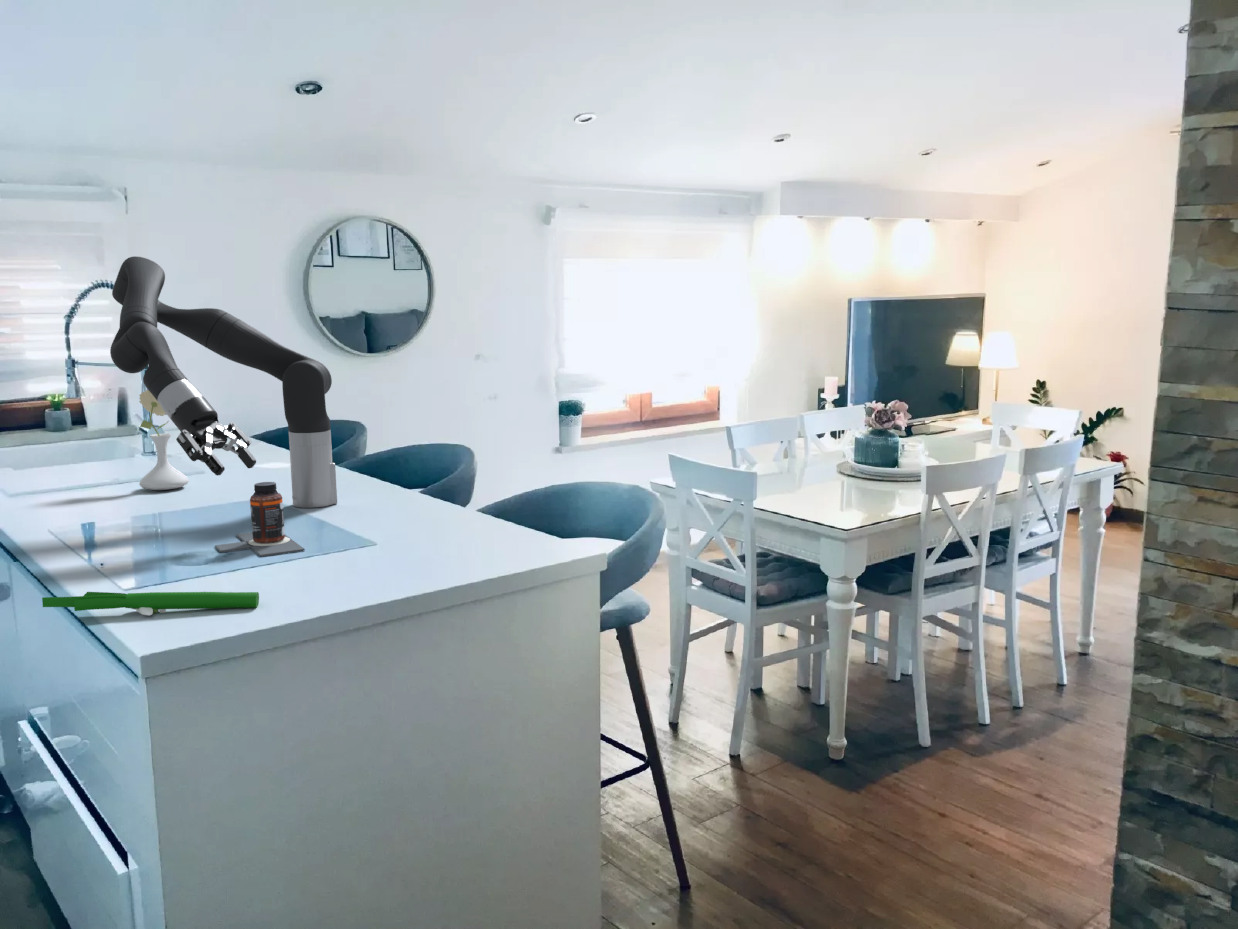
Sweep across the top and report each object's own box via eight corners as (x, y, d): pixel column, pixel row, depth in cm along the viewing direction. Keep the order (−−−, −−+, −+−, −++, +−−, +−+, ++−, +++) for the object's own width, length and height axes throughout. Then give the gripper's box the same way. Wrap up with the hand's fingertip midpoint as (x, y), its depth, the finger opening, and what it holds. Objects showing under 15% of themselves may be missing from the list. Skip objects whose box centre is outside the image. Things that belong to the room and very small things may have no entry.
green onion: (259, 608, 154) (49, 610, 148) (259, 588, 153) (48, 589, 147) (254, 618, 149) (36, 621, 143) (254, 597, 148) (35, 599, 143)
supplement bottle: (292, 538, 193) (288, 481, 191) (269, 545, 188) (265, 487, 186) (268, 535, 196) (265, 479, 194) (245, 542, 190) (241, 484, 188)
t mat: (277, 530, 202) (277, 528, 202) (304, 550, 185) (304, 548, 185) (207, 539, 195) (207, 537, 195) (229, 561, 178) (229, 558, 178)
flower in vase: (198, 487, 251) (191, 389, 247) (157, 494, 241) (148, 392, 237) (168, 482, 258) (160, 387, 254) (126, 489, 248) (117, 390, 244)
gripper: (205, 417, 202) (253, 475, 199) (149, 425, 189) (200, 488, 186) (223, 392, 199) (272, 451, 197) (168, 398, 186) (220, 461, 184)
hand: (237, 469), depth 192 cm, fingers open, 8 cm apart
